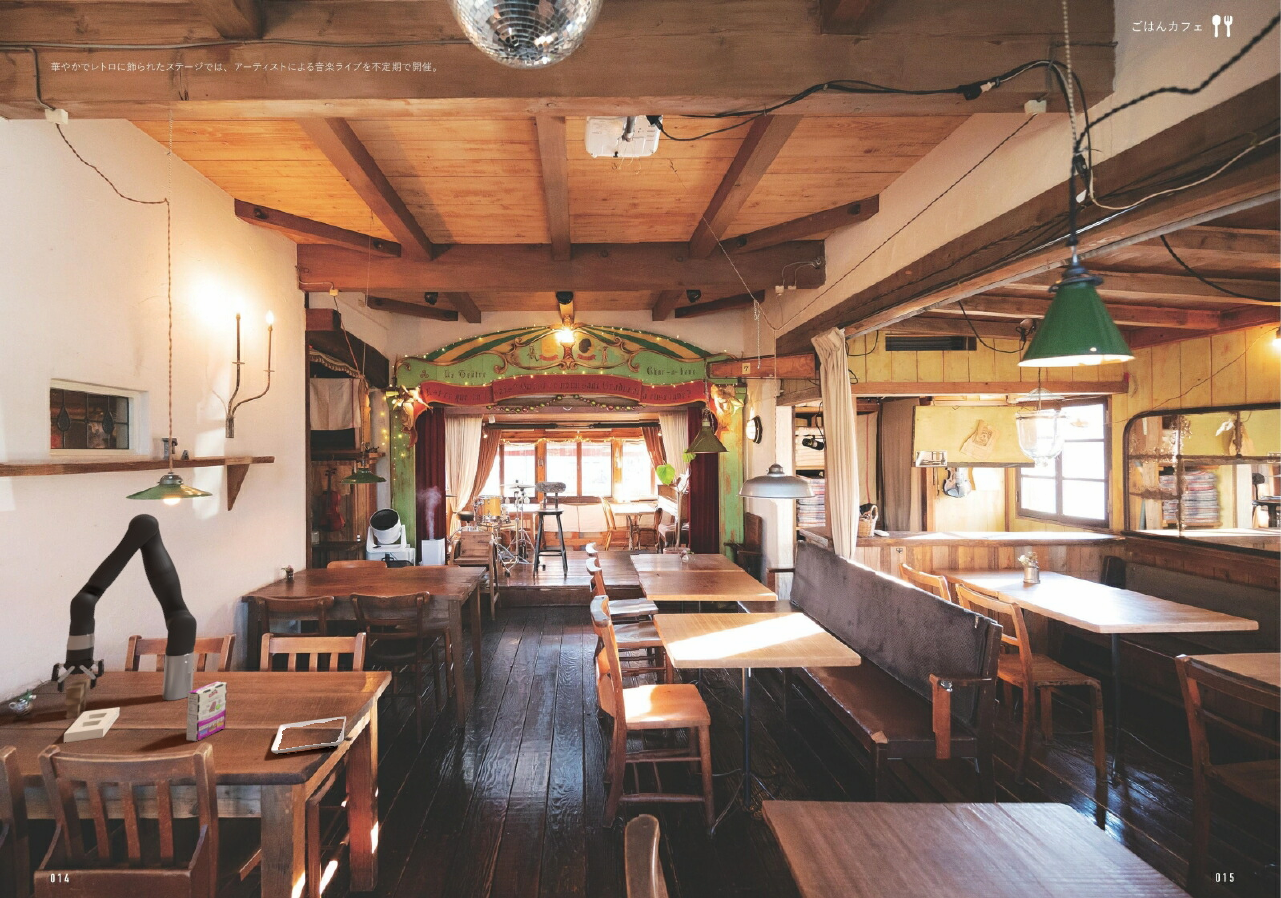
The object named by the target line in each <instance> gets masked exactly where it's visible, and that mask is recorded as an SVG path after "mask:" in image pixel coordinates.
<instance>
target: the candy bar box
mask: <svg viewBox="0 0 1281 898" xmlns="http://www.w3.org/2000/svg"><path fill="white" fill-rule="evenodd" d="M227 688H228V684H227V682H223V681H217V680H216V681H214V682H212V683H209V684H207V685H203V686H202V687H198V688H196V689H193V690H192V691H191V692H188V697H187V710H186V711H187V715H186V736H185V737H186V741H189V742H196V741H197V740H199V739H200V741H201V739H202V740H204V739H206V738H207V737H206V736H208V735H210V736H212V735H214V734H216V733H215V732H217V731H219V732H220V730H221V729H223V728H225V729H226V715H227V714H226V713H227V711H226V710H227V690H228V689H227ZM223 730H224V729H223ZM221 731H222V730H221ZM213 733H214V734H213ZM217 733H218V732H217ZM211 734H212V735H211ZM205 737H206V738H205ZM208 737H209V736H208ZM197 742H198V741H197Z"/></svg>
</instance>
